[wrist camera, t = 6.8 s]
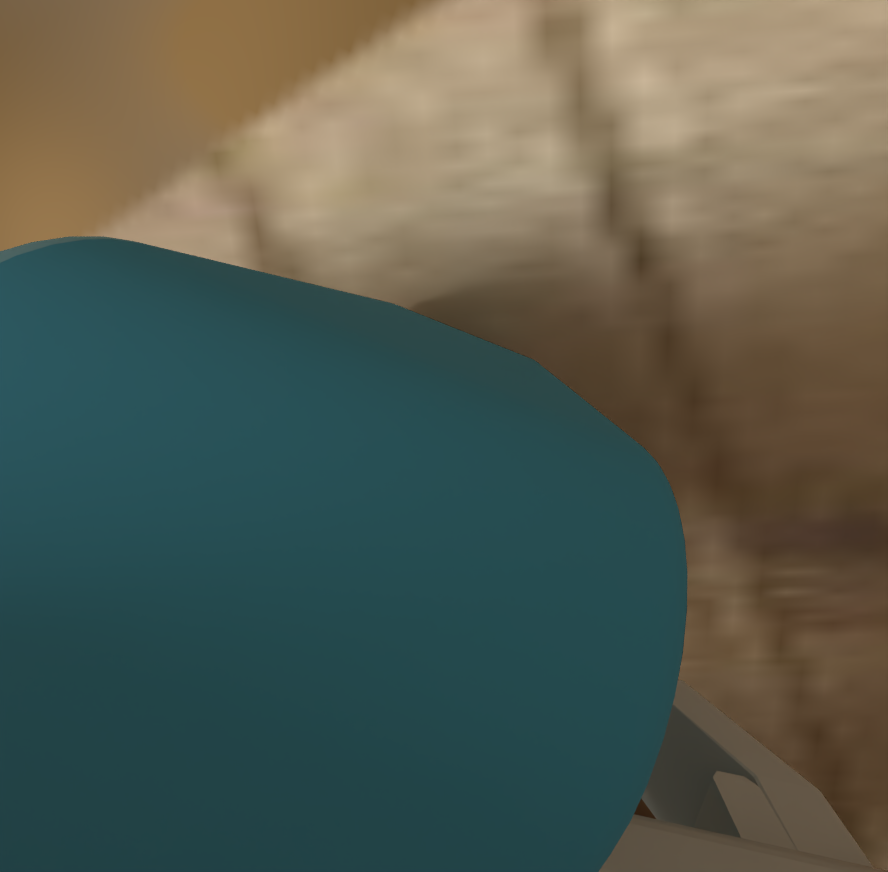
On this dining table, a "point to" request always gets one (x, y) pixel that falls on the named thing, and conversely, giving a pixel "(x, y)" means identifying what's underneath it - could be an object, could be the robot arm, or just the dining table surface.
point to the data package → (312, 583)
